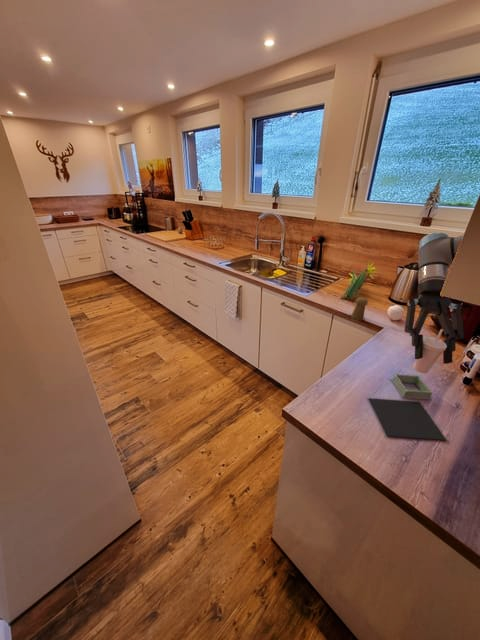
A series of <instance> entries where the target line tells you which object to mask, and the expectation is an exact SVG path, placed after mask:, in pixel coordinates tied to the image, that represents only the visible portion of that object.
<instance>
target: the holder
mask: <svg viewBox="0 0 480 640" xmlns="http://www.w3.org/2000/svg"><path fill="white" fill-rule="evenodd" d="M391 381H392V383H393V385H394V386H395V387H396V389H397V391H398V392H399V394H400V396H401V397H402V398H403V399H417V400H430V398H431V396H432V395H433V392H432V390H431V389H430V387H428V385H427V384H426V383H425V382H424V380H423V379H422V377H420V375H417V374H416V375H415V374H399V373H394V375H393V377H392V379H391ZM404 383H408V384H415V385H416V386H417V388H418V389H419V390H414V389H413V390H412V389H407V387H406V386H405V385H404Z"/></svg>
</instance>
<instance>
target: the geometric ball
mask: <svg viewBox="0 0 480 640" xmlns="http://www.w3.org/2000/svg"><path fill="white" fill-rule="evenodd" d="M405 310H406V309H404V308H403V307H402V305H398V304H394V305H391V306H389V308H388V309H387V311H386V312H387V317H388V318H389V319H390V320H393V321H399V320H402V319H403V318H404V317H405V314H406V313H405Z"/></svg>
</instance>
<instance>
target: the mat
mask: <svg viewBox="0 0 480 640" xmlns="http://www.w3.org/2000/svg"><path fill="white" fill-rule="evenodd" d="M368 400H369V402H370V405H371V406H372V408H373V410H374V412H375V414H376V417H377V419H378V420H379V422H380V424H381V426H382V429H383V430H384V432H385V434H386V436H387V437H388V438H390V437H391V438H402V439H416V440H417V439H418V440H431V441H444V442H446V441H447V439H446V437H445V436H444V434H443V433H442V432H441V430H440V429H439V427H438V426H437V424H436V423H435V422H434V420H433V419H432V418H431V415H430V414H429V413H428V412H427V410H426V409H425V408H424V406H423V405H422V403H421V402H420V401H411V400H400V399H399V400H397V399H381V398H368Z"/></svg>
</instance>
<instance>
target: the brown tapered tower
mask: <svg viewBox="0 0 480 640" xmlns="http://www.w3.org/2000/svg"><path fill="white" fill-rule="evenodd" d="M367 305H368V299H367V298H365V297H362V296H361V297H357V298H356V300H355V307H354V308H353V311H352V312H351V315H350V317H351V319H352V320H354V321H358V322H361V321H363V320H364V319H365V318H364V317H365V309H366V306H367Z"/></svg>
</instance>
